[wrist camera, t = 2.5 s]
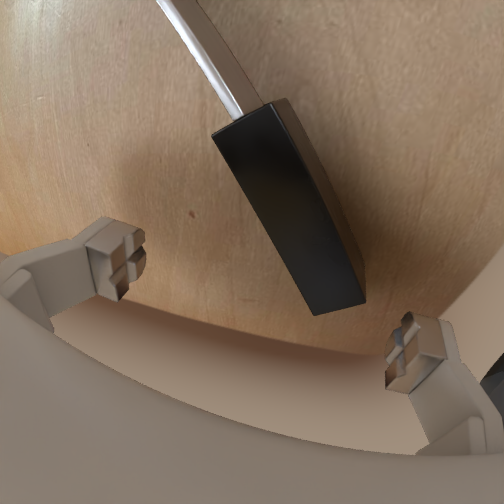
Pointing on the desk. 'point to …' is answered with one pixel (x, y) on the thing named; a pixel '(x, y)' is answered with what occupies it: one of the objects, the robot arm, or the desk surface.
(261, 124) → the knife
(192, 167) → the desk surface
